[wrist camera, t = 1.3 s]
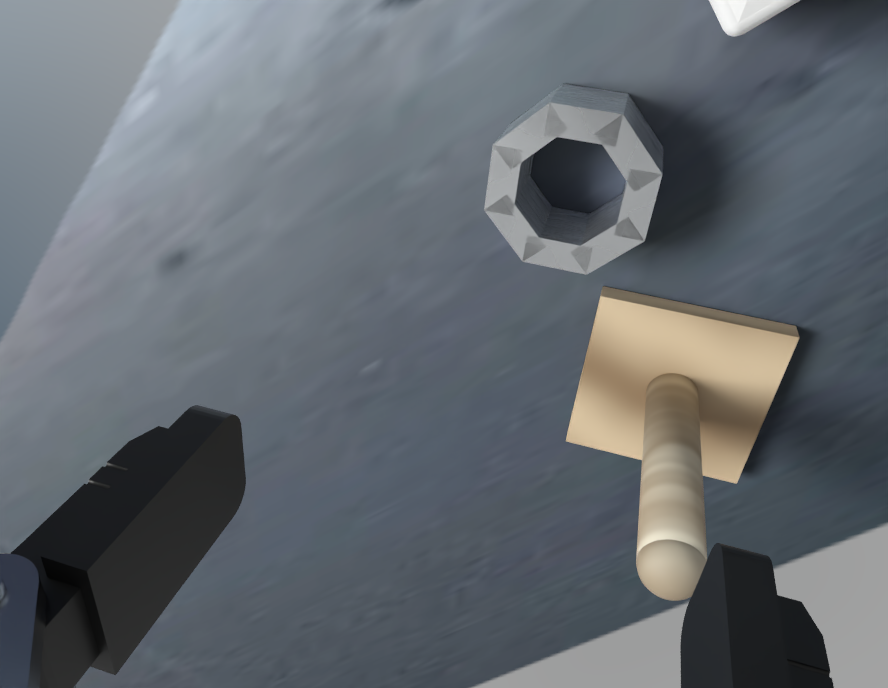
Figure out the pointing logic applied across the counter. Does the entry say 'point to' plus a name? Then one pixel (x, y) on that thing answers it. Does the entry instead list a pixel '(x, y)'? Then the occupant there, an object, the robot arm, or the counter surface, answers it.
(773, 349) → the post stand
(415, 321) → the counter surface
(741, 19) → the medicine bottle
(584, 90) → the ring
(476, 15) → the counter surface
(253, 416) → the counter surface
